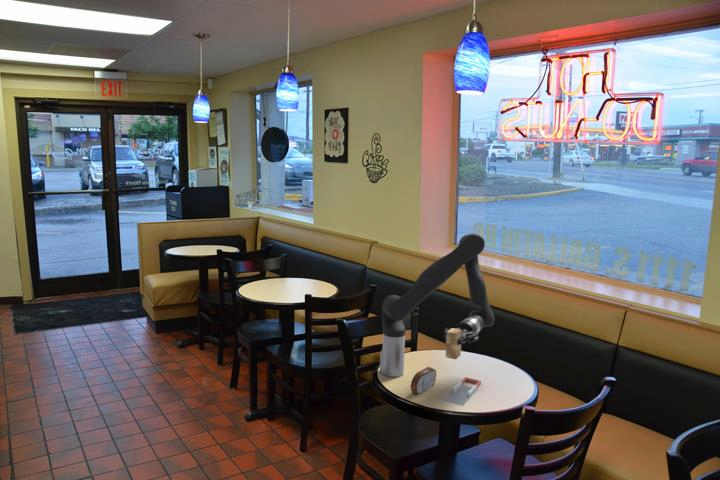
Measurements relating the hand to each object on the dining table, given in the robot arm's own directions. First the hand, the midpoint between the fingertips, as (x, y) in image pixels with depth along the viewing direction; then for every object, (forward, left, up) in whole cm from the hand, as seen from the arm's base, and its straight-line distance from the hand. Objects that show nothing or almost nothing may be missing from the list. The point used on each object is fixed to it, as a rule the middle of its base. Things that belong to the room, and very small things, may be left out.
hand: (452, 341), depth 202 cm
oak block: (0, +2, -6) cm, 7 cm away
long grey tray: (+2, +10, -24) cm, 26 cm away
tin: (-12, +4, -24) cm, 27 cm away
